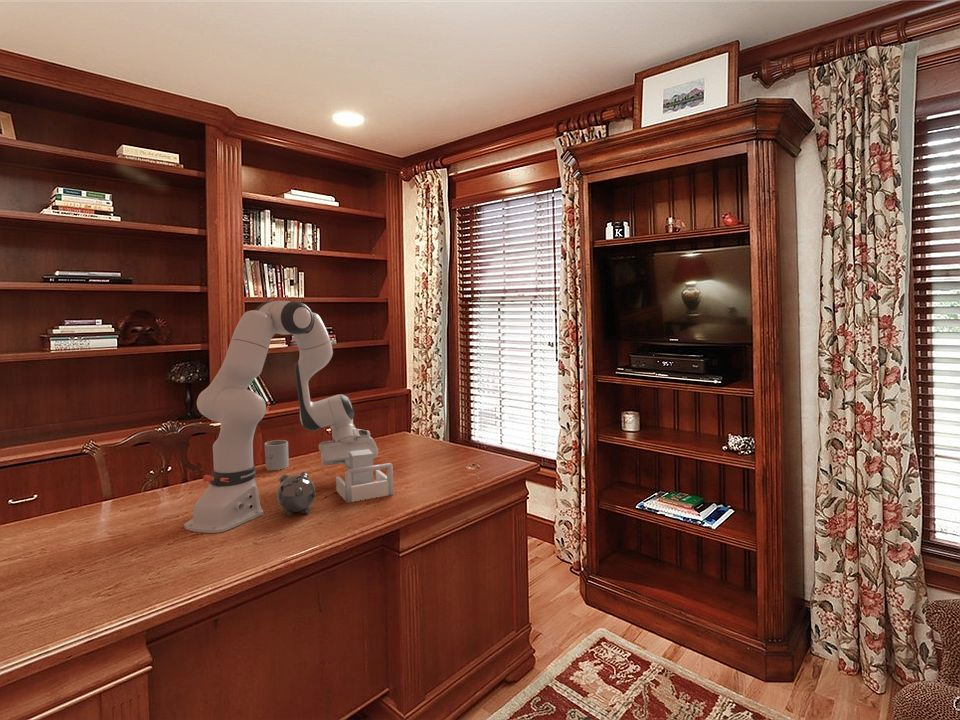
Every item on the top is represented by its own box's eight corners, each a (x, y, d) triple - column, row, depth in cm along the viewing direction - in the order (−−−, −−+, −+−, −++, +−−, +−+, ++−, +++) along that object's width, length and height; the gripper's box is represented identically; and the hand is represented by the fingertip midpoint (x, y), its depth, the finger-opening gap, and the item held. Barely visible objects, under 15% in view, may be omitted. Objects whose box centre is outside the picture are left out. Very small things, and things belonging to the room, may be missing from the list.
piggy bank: (311, 501, 174) (310, 466, 172) (319, 517, 160) (318, 480, 159) (275, 506, 169) (273, 471, 168) (280, 523, 155) (278, 485, 154)
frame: (394, 494, 179) (393, 463, 178) (346, 503, 171) (345, 471, 170) (380, 483, 191) (379, 453, 190) (335, 491, 183) (334, 460, 182)
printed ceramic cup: (291, 468, 209) (290, 443, 208) (268, 472, 205) (267, 446, 204) (283, 460, 219) (282, 437, 218) (261, 464, 215) (260, 440, 214)
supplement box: (374, 489, 184) (373, 453, 183) (352, 492, 182) (351, 456, 180) (370, 482, 191) (369, 448, 190) (349, 485, 188) (348, 450, 187)
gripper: (318, 437, 189) (326, 471, 182) (373, 430, 200) (383, 462, 192) (316, 446, 194) (323, 480, 186) (370, 439, 204) (379, 471, 197)
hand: (354, 471), depth 189 cm, fingers closed
